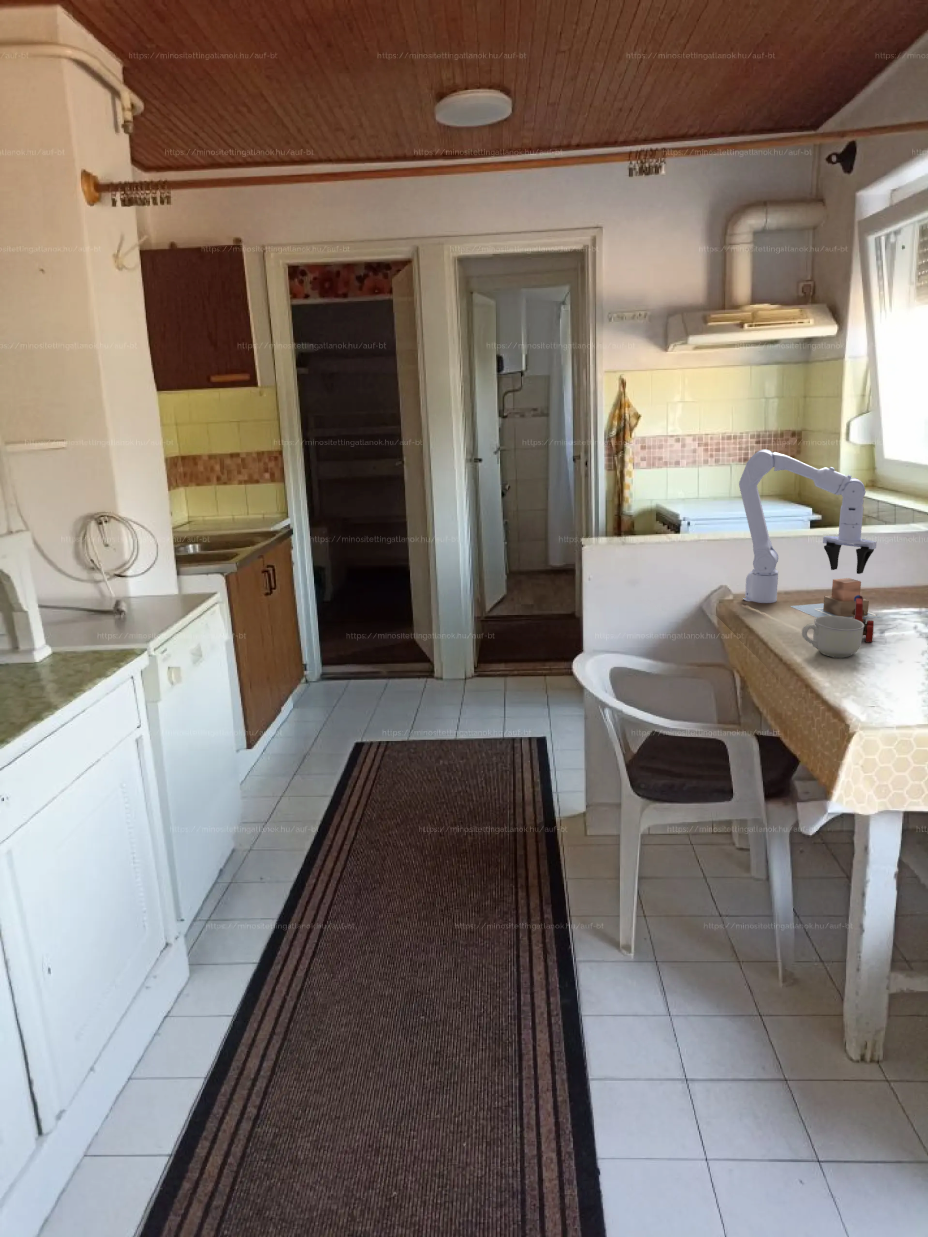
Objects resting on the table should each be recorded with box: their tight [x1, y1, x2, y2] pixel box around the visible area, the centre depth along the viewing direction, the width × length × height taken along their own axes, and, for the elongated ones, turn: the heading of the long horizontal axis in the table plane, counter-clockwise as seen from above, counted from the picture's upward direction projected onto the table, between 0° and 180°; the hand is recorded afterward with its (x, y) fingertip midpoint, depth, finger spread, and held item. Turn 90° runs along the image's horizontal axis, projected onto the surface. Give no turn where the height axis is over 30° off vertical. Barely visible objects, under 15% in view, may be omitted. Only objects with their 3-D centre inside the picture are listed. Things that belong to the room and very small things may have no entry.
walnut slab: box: [823, 595, 870, 617], centre depth 229 cm, size 8×8×4 cm
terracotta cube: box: [831, 577, 862, 601], centre depth 228 cm, size 5×5×5 cm
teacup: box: [801, 616, 864, 659], centre depth 197 cm, size 14×11×8 cm
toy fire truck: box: [852, 594, 875, 643], centre depth 208 cm, size 7×12×10 cm, turn 154°
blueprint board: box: [789, 602, 881, 620], centre depth 231 cm, size 18×16×1 cm
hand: (846, 571), depth 236 cm, fingers open, 7 cm apart
